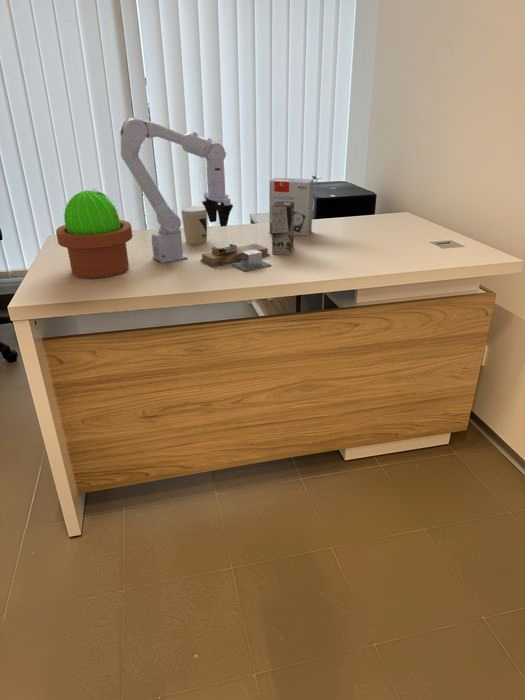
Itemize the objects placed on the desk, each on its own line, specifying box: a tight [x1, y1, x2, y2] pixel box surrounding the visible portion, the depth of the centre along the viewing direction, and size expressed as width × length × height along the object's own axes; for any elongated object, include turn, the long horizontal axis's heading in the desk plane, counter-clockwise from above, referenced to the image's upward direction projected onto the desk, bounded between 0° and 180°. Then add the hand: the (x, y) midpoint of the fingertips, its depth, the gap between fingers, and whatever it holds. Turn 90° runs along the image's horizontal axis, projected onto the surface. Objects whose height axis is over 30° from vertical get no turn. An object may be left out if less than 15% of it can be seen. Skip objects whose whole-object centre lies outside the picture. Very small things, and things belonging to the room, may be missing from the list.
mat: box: [231, 260, 272, 273], centre depth 166 cm, size 10×8×1 cm
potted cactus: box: [55, 188, 133, 279], centre depth 158 cm, size 22×22×25 cm
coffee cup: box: [180, 205, 208, 245], centre depth 190 cm, size 9×9×12 cm
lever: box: [218, 245, 237, 253], centre depth 168 cm, size 5×2×5 cm
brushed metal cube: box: [241, 249, 263, 267], centre depth 165 cm, size 5×4×4 cm
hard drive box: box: [269, 177, 314, 237], centre depth 198 cm, size 16×8×20 cm, turn 73°
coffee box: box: [271, 201, 295, 256], centre depth 177 cm, size 9×6×16 cm
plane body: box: [200, 243, 270, 268], centre depth 172 cm, size 22×8×5 cm, turn 123°
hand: (218, 223), depth 175 cm, fingers open, 7 cm apart
